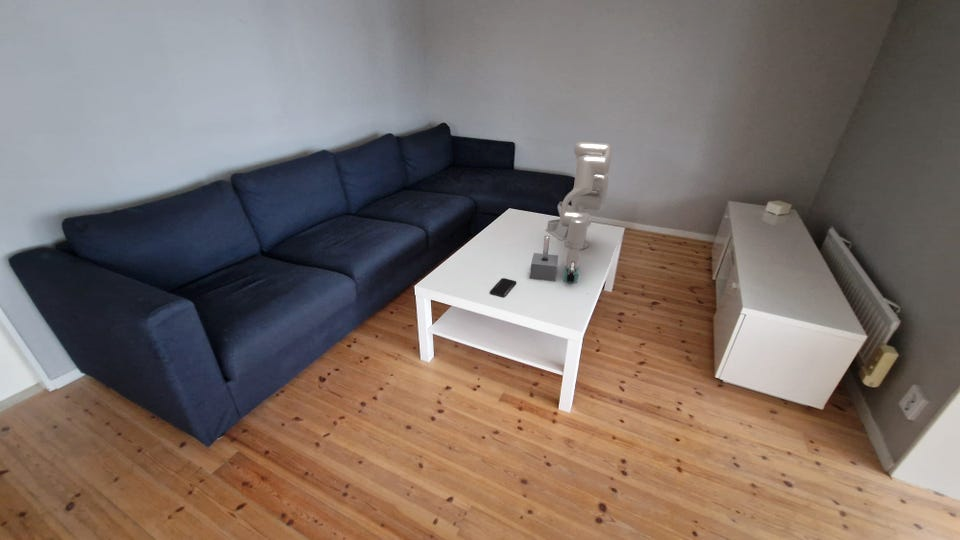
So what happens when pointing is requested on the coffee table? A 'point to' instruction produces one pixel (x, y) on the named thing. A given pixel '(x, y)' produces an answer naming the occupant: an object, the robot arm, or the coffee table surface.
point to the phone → (503, 287)
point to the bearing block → (543, 267)
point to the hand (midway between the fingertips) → (570, 277)
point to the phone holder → (558, 226)
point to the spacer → (567, 274)
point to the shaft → (546, 248)
